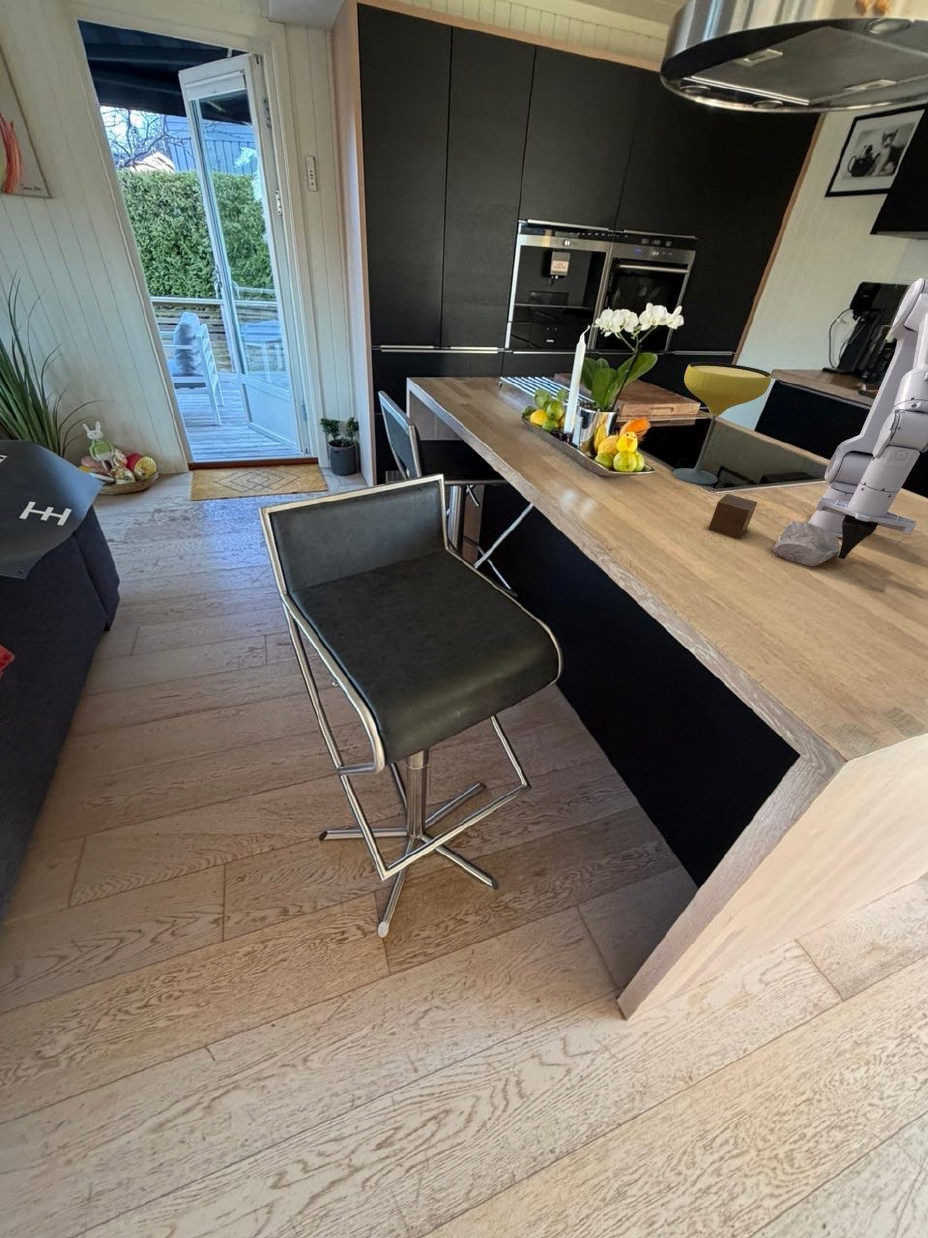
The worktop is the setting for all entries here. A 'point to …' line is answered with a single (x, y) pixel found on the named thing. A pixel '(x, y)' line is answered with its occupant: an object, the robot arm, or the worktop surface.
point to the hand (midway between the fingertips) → (841, 556)
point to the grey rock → (806, 544)
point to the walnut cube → (732, 515)
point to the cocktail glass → (720, 399)
